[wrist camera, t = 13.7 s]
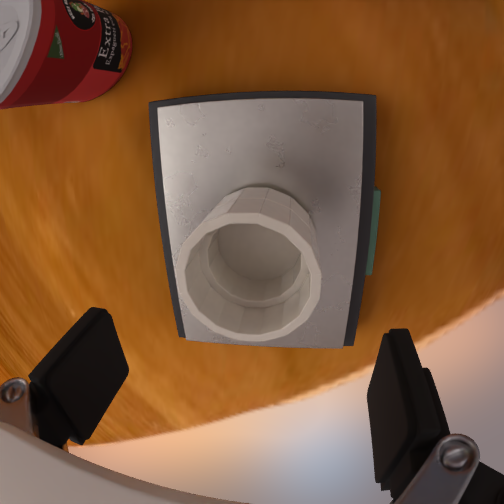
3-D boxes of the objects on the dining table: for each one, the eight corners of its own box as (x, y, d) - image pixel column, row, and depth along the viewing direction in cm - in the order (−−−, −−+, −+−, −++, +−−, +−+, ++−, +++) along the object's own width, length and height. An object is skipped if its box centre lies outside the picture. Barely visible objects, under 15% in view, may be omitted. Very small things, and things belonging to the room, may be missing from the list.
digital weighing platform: (361, 101, 16) (363, 100, 15) (342, 343, 23) (342, 348, 22) (160, 107, 18) (156, 107, 17) (188, 335, 24) (186, 340, 24)
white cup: (317, 186, 18) (325, 214, 13) (312, 289, 21) (315, 344, 15) (202, 186, 19) (167, 213, 14) (211, 285, 21) (186, 336, 16)
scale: (376, 98, 18) (386, 96, 16) (356, 327, 25) (360, 346, 23) (162, 103, 20) (148, 102, 18) (187, 320, 27) (178, 337, 25)
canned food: (150, 67, 19) (45, 46, 9) (72, 120, 21) (-34, 141, 11) (119, -5, 16) (24, -46, 6) (48, 51, 19) (-51, 47, 9)
